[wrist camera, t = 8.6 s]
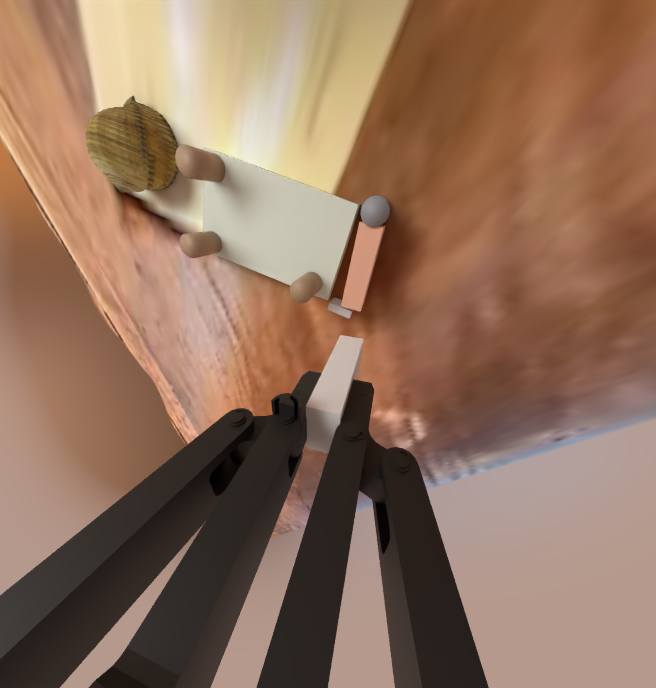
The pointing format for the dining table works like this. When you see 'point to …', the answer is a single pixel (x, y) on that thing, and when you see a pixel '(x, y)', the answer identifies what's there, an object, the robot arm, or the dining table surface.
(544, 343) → the dining table surface
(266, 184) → the pale board with pegs
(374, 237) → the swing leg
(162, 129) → the seashell
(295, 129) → the dining table surface
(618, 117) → the dining table surface
